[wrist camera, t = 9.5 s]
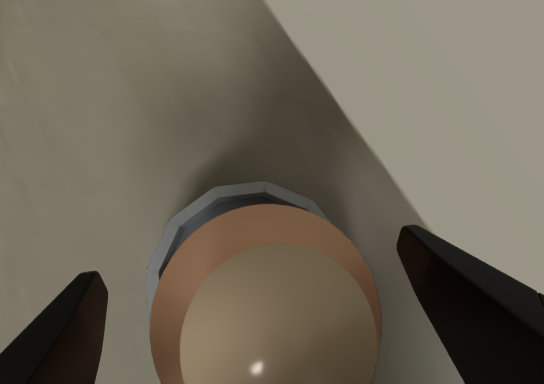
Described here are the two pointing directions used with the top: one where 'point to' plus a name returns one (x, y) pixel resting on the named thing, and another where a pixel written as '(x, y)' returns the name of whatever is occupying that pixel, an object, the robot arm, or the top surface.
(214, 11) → the top surface
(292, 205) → the slate bowl
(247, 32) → the top surface
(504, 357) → the robot arm
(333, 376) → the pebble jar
